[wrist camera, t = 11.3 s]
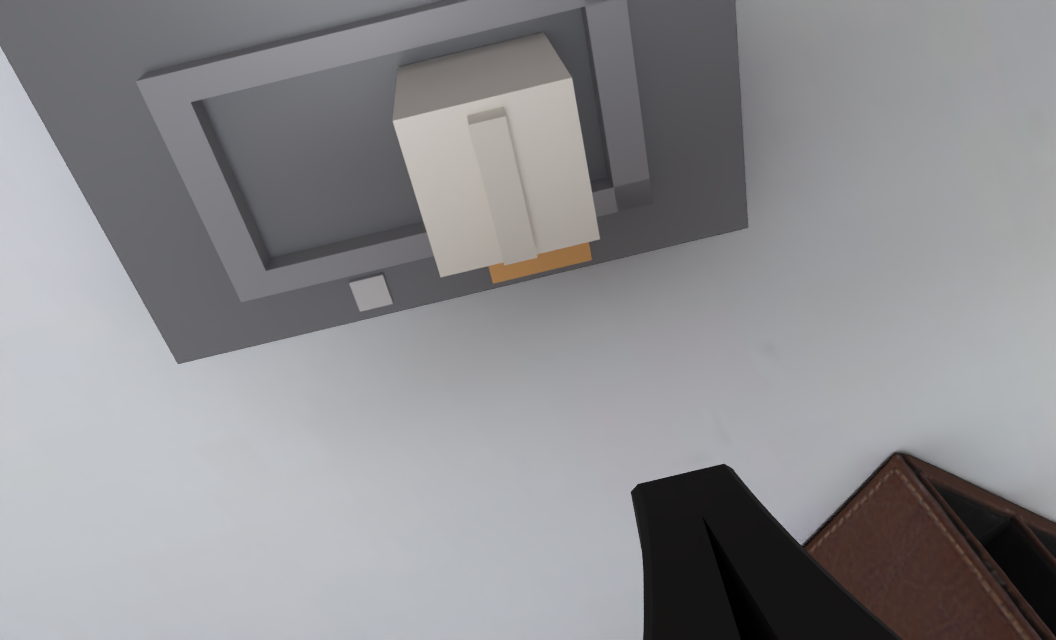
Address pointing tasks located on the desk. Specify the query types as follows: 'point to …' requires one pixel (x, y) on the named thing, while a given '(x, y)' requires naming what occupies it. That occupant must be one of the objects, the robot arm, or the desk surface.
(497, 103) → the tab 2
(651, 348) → the desk surface
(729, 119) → the switch bank
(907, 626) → the letter holder
